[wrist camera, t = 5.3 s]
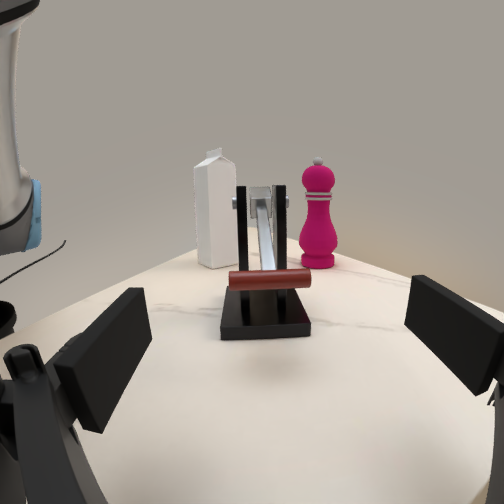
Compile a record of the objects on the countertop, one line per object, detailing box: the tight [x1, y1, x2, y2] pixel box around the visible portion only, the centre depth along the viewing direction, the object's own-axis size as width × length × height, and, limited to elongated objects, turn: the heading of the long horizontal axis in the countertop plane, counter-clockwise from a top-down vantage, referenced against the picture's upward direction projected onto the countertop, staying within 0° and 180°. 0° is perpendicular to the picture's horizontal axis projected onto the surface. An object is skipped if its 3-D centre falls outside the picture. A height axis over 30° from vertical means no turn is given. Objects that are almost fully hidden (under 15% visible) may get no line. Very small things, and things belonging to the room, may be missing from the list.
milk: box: [193, 148, 239, 269], centre depth 54 cm, size 6×6×22 cm
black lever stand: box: [220, 185, 311, 340], centre depth 32 cm, size 12×9×15 cm
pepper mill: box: [299, 157, 337, 269], centre depth 51 cm, size 7×7×20 cm
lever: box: [229, 187, 311, 291], centre depth 26 cm, size 14×6×2 cm, turn 1°
